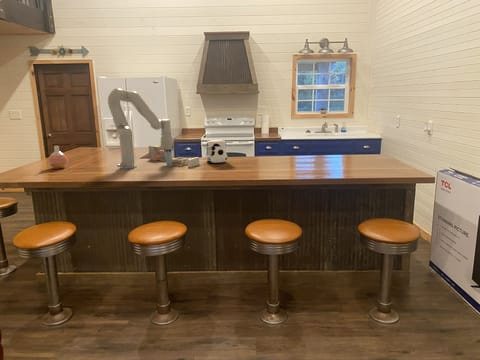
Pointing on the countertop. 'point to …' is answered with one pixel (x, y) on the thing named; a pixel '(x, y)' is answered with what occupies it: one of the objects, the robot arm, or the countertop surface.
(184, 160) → the block
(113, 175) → the countertop surface
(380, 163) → the countertop surface
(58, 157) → the vase
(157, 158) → the stack of blocks
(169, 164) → the dowel
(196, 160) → the wall
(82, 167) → the countertop surface
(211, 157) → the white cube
